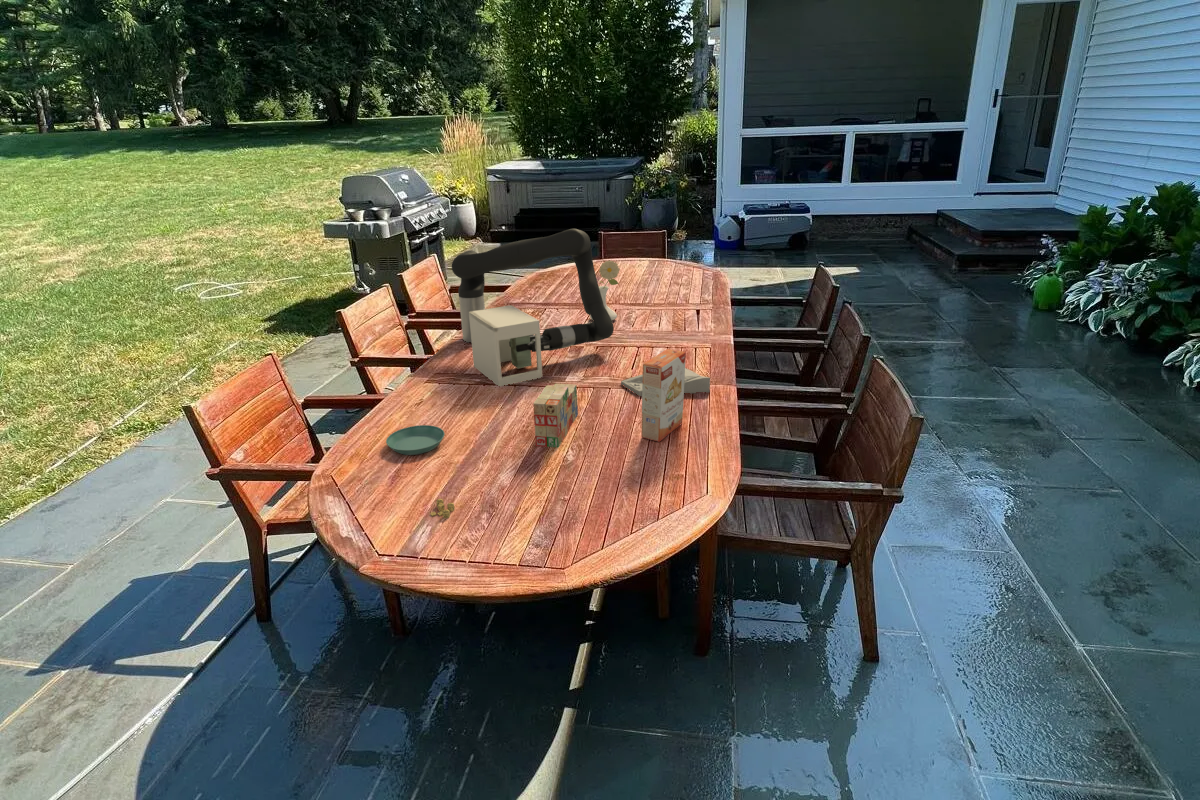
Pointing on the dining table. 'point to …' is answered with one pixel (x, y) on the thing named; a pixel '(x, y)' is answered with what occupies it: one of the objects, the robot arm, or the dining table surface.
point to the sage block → (522, 357)
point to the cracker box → (662, 394)
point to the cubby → (501, 341)
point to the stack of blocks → (554, 414)
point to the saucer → (415, 439)
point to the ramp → (691, 383)
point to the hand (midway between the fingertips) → (513, 346)
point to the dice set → (441, 508)
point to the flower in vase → (609, 272)
